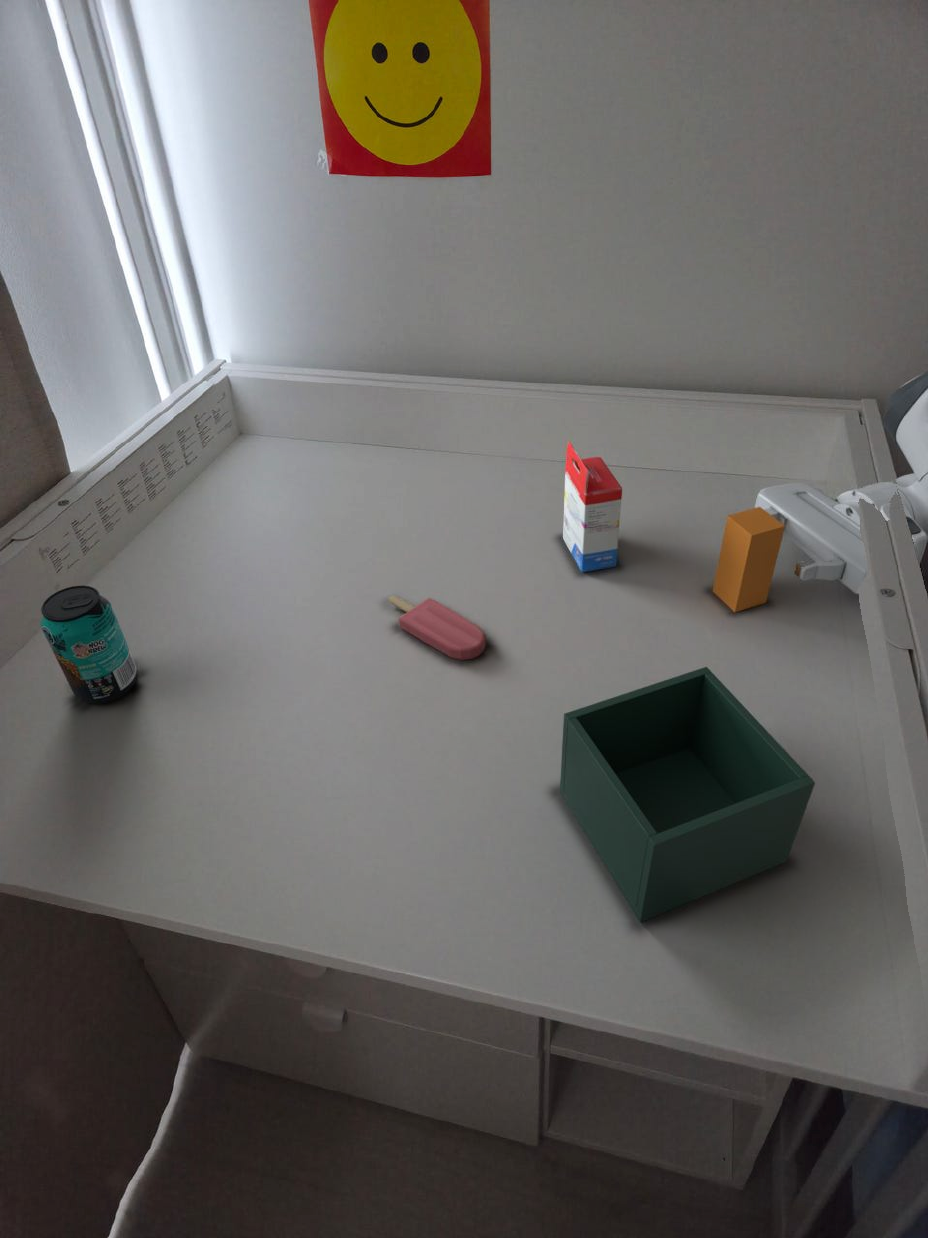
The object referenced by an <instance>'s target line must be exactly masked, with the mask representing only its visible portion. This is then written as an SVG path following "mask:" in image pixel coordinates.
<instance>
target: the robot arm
mask: <svg viewBox="0 0 928 1238" xmlns="http://www.w3.org/2000/svg"><path fill="white" fill-rule="evenodd" d="M882 418H883V419H882V425H883V427H884V428H885V430H886V431H887V432H888V434H889V435H890V437H891V438H892V440H893V441H894V442H895V444H896V445H897V446H899V448H900V450H901V452H902V453H903V455H904V457H905V459H906V461H907V462H908V464H909V466H910V468H911V469H912V471H913V472H911V473H907V474H904V475H902V476H899V477H897V478H896V479H895V480H896V482H897V484H895V483H893V481H880V482H876V483H875V482H874V483H872V485H871V484H868V485H865V487H864V486H862V487H863V488H861V487H858V488H859V489H857V488H854V489H851V490H847V491H844V492H841V493H840V494H839V495H838V496H837V497H836V498H833V497H831V496H830V495H828V494H826V493H825V492H824V491H823V490H821V489H819V488H817V487H816V486H814V485H812V484H810V483H807V482H791V483H784V484H778V485H772V486H768V487H764V488H762V489H760V490H759V492H758V494H757V497H756V501H755V505H754V508H757V507H761V508H762V509H763V510H765V511H766V512H767V513H769V514H770V515H771V516H773V517H774V518H775V519H777V520H778V521H779V522H781V523H782V524H783V525H784V526H785V529H784V533H783V537H782V539H785V540H786V541H787V542H788V543H790V544H791V545H792V546H794V547H795V548H796V549H798V550H799V551H800V552H801V553H803V554H804V555H805V556H806V557H808V558H807V559H804V560H800V561H798V562H797V563H796V564H795V567H794V568H795V569H794V571H793V574H794V575H795V576H797V577H798V578H799V579H800V580H801V581H802V582H806V581H808V580H812V579H817V580H826V581H836V580H837V581H839V583H841V584H843V585H844V586H845V587H846V588H848V589H850V591H852V592H853V593H854V594H856V592H857V590H858V588H859V587H860V586H861V583H862V582H863V580H864V578H865V577H866V575H867V572H868V564H867V558H866V552H865V547H864V543H863V541H862V538H861V534H860V526H859V525H860V510H859V504H858V502H859V499H860V498H861V499H864V500H865V501H866V502H868V503H870V504H871V505H872V504H873V505H875V508H876V509H877V510H879V511H880V512H881V513H882V515H883V517H884V518H885V520H886V521H888V520H890V513H889V510H890V509H889V508H890V506H891V505H890V504H891V503H889V502H890V501H891V498H892V497H893V495H895V492H896V494H897V495H898V493H897V492H899V494H900V497H901V501H902V504H903V507H904V508H903V509H904V512H905V515H906V519H907V522H908V526H909V529H910V532H911V535H912V539H913V542H914V548H915V551H916V555H917V558H918V561H919V565H921V562H922V558H923V556H924V553H925V551H926V548H927V547H926V546H927V543H928V370H927V371H926V372H924V373H922V374H919V375H917V376H915V377H914V378H911V379H910V380H909V381H907V382H905V383H904V384H903V385H901V386H900V387H899V388H898V389H896V390H895V391H894V392H893V393H892V394H891V395H890V397H889V398H888V401H887V404H886V406H885V410H884V413H883V417H882ZM896 486H897V487H896ZM897 489H898V491H897Z"/></svg>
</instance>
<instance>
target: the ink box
mask: <svg viewBox="0 0 928 1238" xmlns="http://www.w3.org/2000/svg"><path fill="white" fill-rule="evenodd" d="M565 456H566V459H565V468H564V469H565V473H564V499H563V504H564V505H563V524H562V525H563V527H562V528H563V529H562V539H563V541H564V543H565V545H566V546H567V548H568V550H569V552H570V554H571V555H572V557H573V559H574V561H575V562H576V565H577V566H578V568H579V570H580V572H581V573H587V572H592V571H598V570H604V569H609V568H615V567H616V566H617V560H618V547H619V535H620V534H619V531H620V522H621V521H620V520H621V510H622V498H623V487H622V486H621V484H620V483H619V481H618V480H617V479H616V477H615V476H614V474H613V473H612V471H611V470H610V469H609V467H608V466H607V464H606V462H605V461H604V460H603V459H602V457H601V456H594V457H592V456H591V457H585V458H584V457H583V458H581V456H580V455H579V454H578V452H577V450H576V449H575V447H574V446H573V445H572V443H571V441H568V442H567V444H566V455H565Z"/></svg>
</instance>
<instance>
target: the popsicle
mask: <svg viewBox="0 0 928 1238" xmlns="http://www.w3.org/2000/svg"><path fill="white" fill-rule="evenodd" d="M388 602H389V603H390V604H392V605H394V606H395V607H397V608H399V609H400V610H402V611H403V612H405V613H403V614H402V615H400V616H399V618H398V625H399V628H401V629H402V630H404V631H405V632H407V633H409V634H410V635H412V636H414V637H415V638H417V639H419V640H420V641H422V642H423V643H425V644H427V645H429V646H431V647H432V648H434V649H436V650H437V651H439V652H441V653H443V654H444V655H446V656H447V657H450V658H453V659H456V660H460V661H463V660H472V659H475V658H477V657H479V656H480V655H481V654H483V652H484V650H485V648H486V634H485V632H484V631H483V630H482V629H481V628H480V626H479V625H476V624H475V623H473V622H471V621H470V620H469V619H467V618H465V617H463V616H461V614H459V613H457V612H455V611H454V610H452V609H450V608H448V607H447V606H445V605H443V604H442V603H439V602H438V601H436V600H435V599H433V598H431V597H428V598H426V599H425V600H423V601H421V602H420V603H419V604H417V605H416V606H414V605H412V604H410V603H408V602H407V601H406V600H403V599H401V598H400V597H398V596H397V595H391V596H389V598H388Z"/></svg>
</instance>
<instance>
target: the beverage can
mask: <svg viewBox="0 0 928 1238" xmlns="http://www.w3.org/2000/svg"><path fill="white" fill-rule="evenodd" d="M40 612H41V615H42V617H41V621H40V626H41V627H40V628H41V630H42V632H43V634H44V636H45V639H46V640H47V642H48V645H49V646H50V648H51V650H52V651H51V652H52V653H53V655H54V657H55V659H56V661H57V664H58V665H59V667H60V669H61V671H62V673H63V675H64V677H65V679H66V682H67V683H68V685H69V687H70V689H71V692H72V693H73V695H74V696H75V698H77V699H78V700H80V701H82V702H85V703H89V704H105V703H109V702H113V701H116V700H117V699H119V698H122V697H123V696H124V695H126V694H127V693H128V692H129V691H130V690H131V689H132V687H133V686H134V685H135V683H136V682H137V679H138V675H139V670H138V667H137V664H136V662H135V659H134V657H133V655H132V652H131V650H130V647H129V645H128V642H127V640H126V637H125V635H124V633H123V630H122V628H121V626H120V623H119V621H118V618H117V615H116V613H115V611H114V608H113V606H112V603H111V602H110V601H109V600H108V599H107V598H105V597H104V596H103V595H101V594H100V592H99V590H98V589H96V588H95V587H93V586H90V585H73V586H69V587H65V588H62V589H60V590H58V591H56V592H54V593H52V594H51V595H50V596H48V597H47V598H46V599H45V600H44V602H43V603H42V605H41V608H40Z"/></svg>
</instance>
